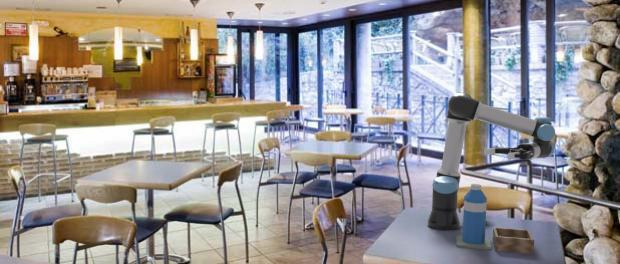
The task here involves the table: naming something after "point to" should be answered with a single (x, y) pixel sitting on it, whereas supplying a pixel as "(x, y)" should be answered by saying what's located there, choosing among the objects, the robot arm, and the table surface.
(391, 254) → the table surface
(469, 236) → the water bottle
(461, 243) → the mat
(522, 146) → the robot arm
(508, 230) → the wooden frame
